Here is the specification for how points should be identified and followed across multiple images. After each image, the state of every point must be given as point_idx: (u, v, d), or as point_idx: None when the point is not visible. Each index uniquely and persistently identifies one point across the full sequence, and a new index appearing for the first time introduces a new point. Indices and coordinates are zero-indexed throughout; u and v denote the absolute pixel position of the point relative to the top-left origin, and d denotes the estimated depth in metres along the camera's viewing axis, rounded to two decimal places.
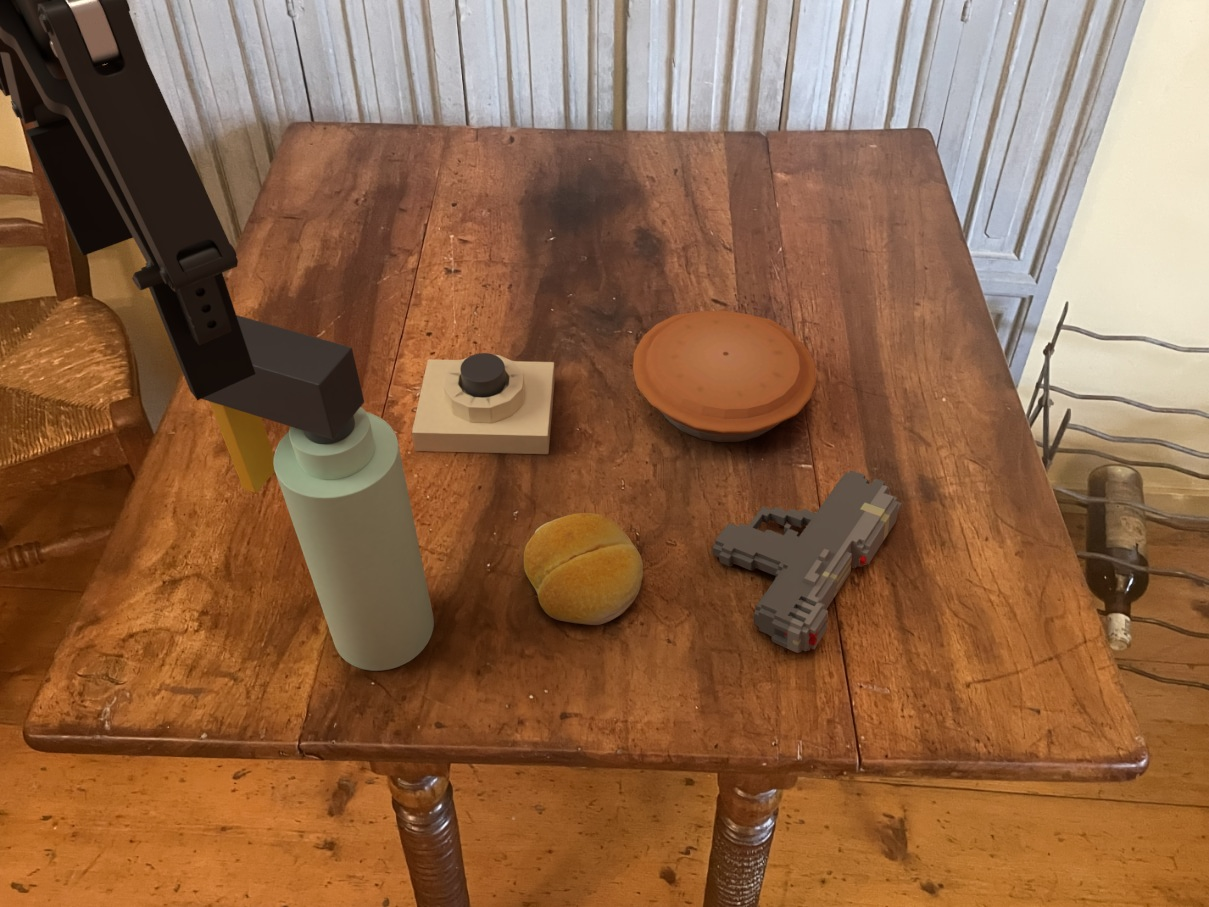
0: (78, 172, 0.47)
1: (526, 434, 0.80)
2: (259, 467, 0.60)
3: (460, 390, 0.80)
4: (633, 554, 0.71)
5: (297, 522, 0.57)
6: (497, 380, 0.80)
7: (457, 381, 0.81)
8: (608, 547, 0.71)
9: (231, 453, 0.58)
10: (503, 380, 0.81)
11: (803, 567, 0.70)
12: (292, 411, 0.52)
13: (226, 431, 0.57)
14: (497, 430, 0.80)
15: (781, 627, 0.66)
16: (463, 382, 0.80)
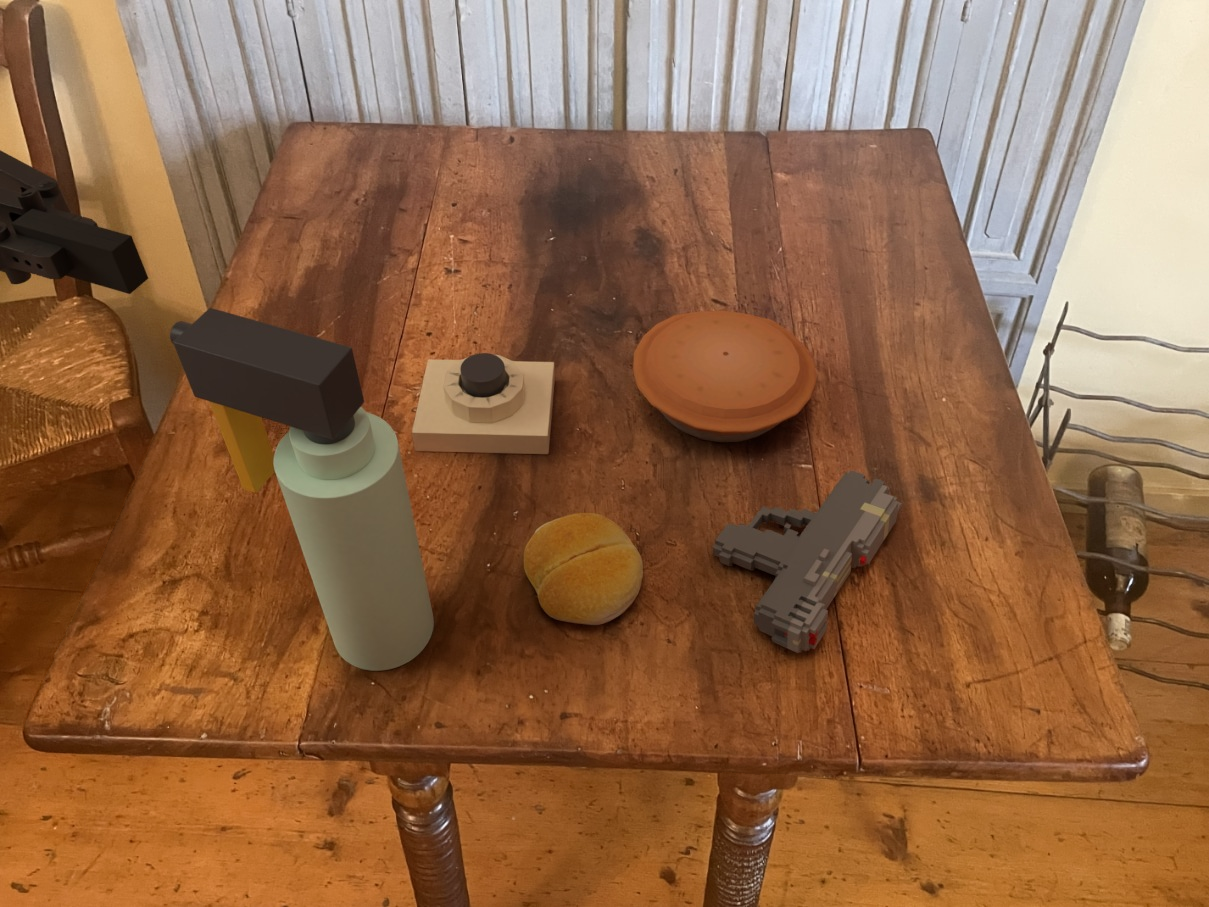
0: None
1: (526, 434, 0.80)
2: (259, 467, 0.60)
3: (460, 390, 0.80)
4: (633, 554, 0.71)
5: (297, 522, 0.57)
6: (497, 380, 0.80)
7: (457, 381, 0.81)
8: (608, 547, 0.71)
9: (231, 453, 0.58)
10: (503, 380, 0.81)
11: (803, 567, 0.70)
12: (292, 411, 0.52)
13: (226, 431, 0.57)
14: (497, 430, 0.80)
15: (781, 627, 0.66)
16: (463, 382, 0.80)
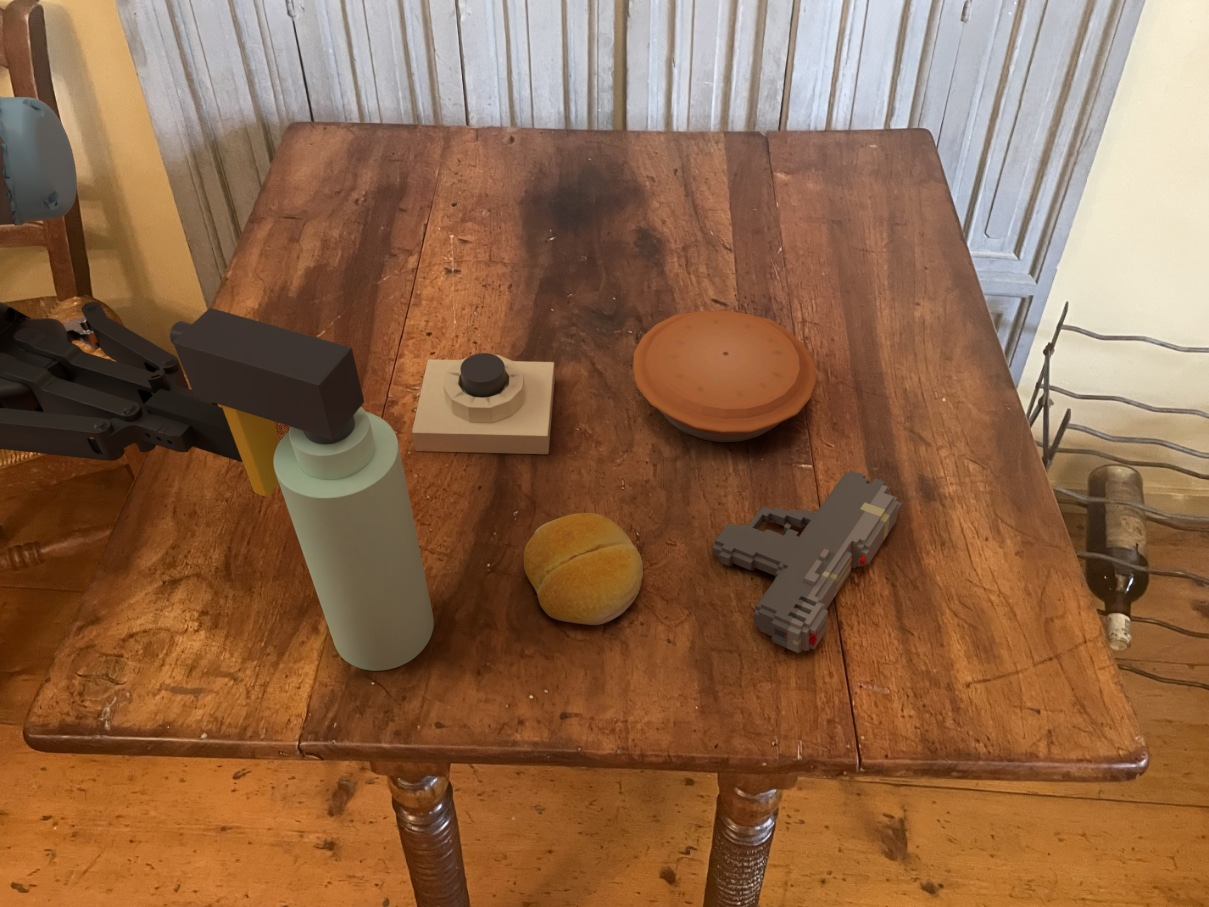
0: None
1: (526, 434, 0.80)
2: (270, 471, 0.60)
3: (460, 390, 0.80)
4: (633, 554, 0.71)
5: (297, 522, 0.57)
6: (497, 380, 0.80)
7: (457, 381, 0.81)
8: (608, 547, 0.71)
9: (243, 457, 0.58)
10: (503, 380, 0.81)
11: (803, 567, 0.70)
12: (292, 411, 0.52)
13: (238, 435, 0.57)
14: (497, 430, 0.80)
15: (781, 627, 0.66)
16: (463, 382, 0.80)
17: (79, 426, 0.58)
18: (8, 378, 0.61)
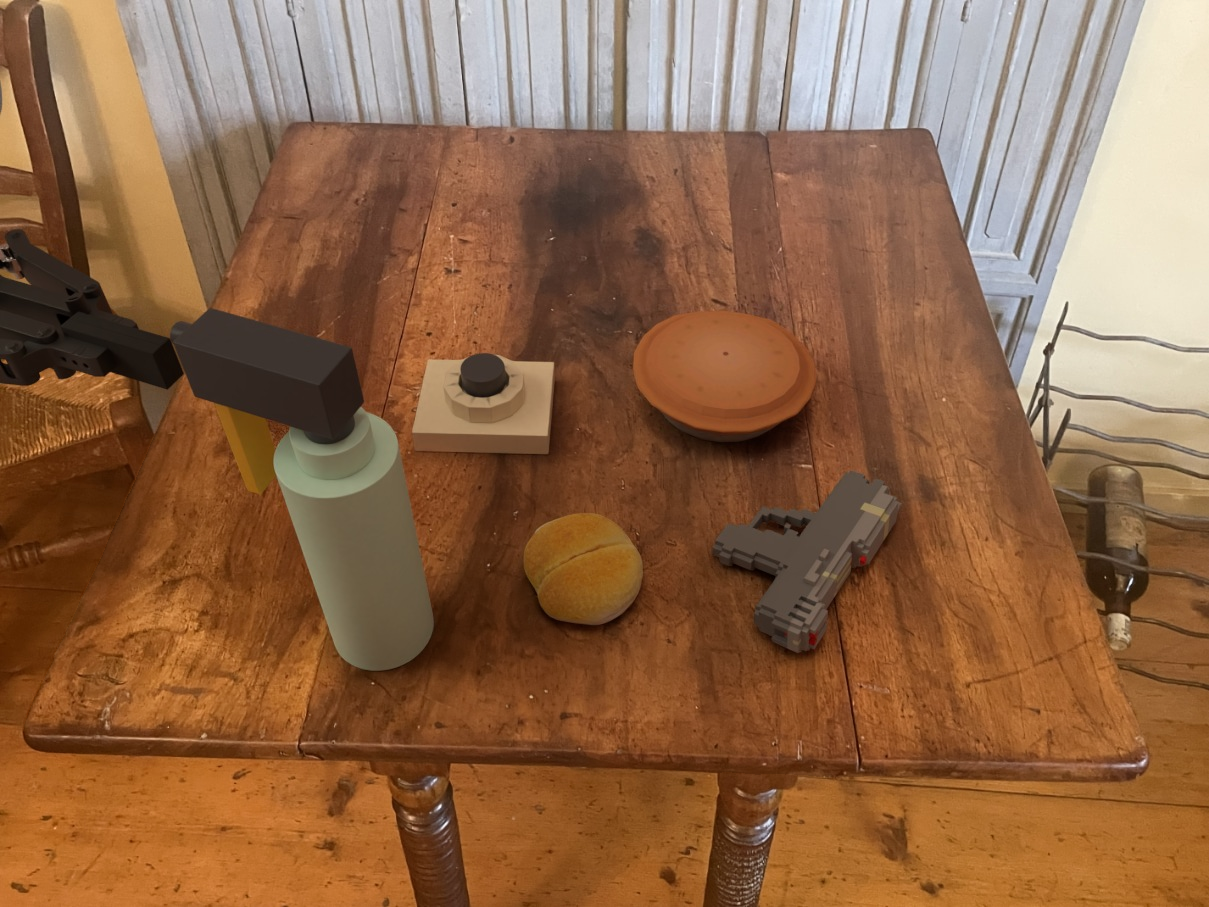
0: None
1: (526, 434, 0.80)
2: (263, 469, 0.60)
3: (460, 390, 0.80)
4: (633, 554, 0.71)
5: (297, 522, 0.57)
6: (497, 380, 0.80)
7: (457, 381, 0.81)
8: (608, 547, 0.71)
9: (235, 455, 0.58)
10: (503, 380, 0.81)
11: (803, 567, 0.70)
12: (292, 411, 0.52)
13: (230, 432, 0.57)
14: (497, 430, 0.80)
15: (781, 627, 0.66)
16: (463, 382, 0.80)
17: None
18: None
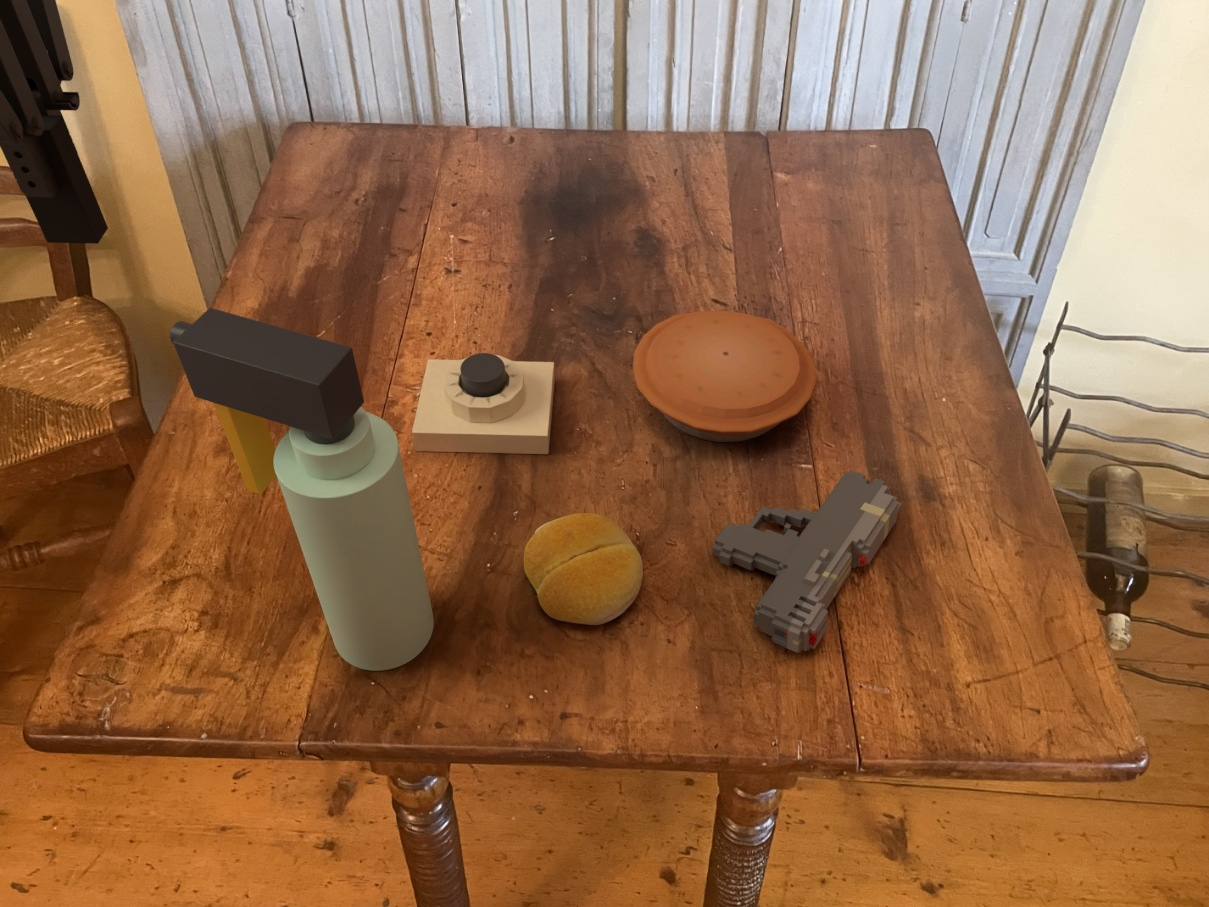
0: None
1: (526, 434, 0.80)
2: (263, 469, 0.60)
3: (460, 390, 0.80)
4: (633, 554, 0.71)
5: (297, 522, 0.57)
6: (497, 380, 0.80)
7: (457, 381, 0.81)
8: (608, 547, 0.71)
9: (235, 455, 0.58)
10: (503, 380, 0.81)
11: (803, 567, 0.70)
12: (292, 411, 0.52)
13: (230, 432, 0.57)
14: (497, 430, 0.80)
15: (781, 627, 0.66)
16: (463, 382, 0.80)
17: None
18: None
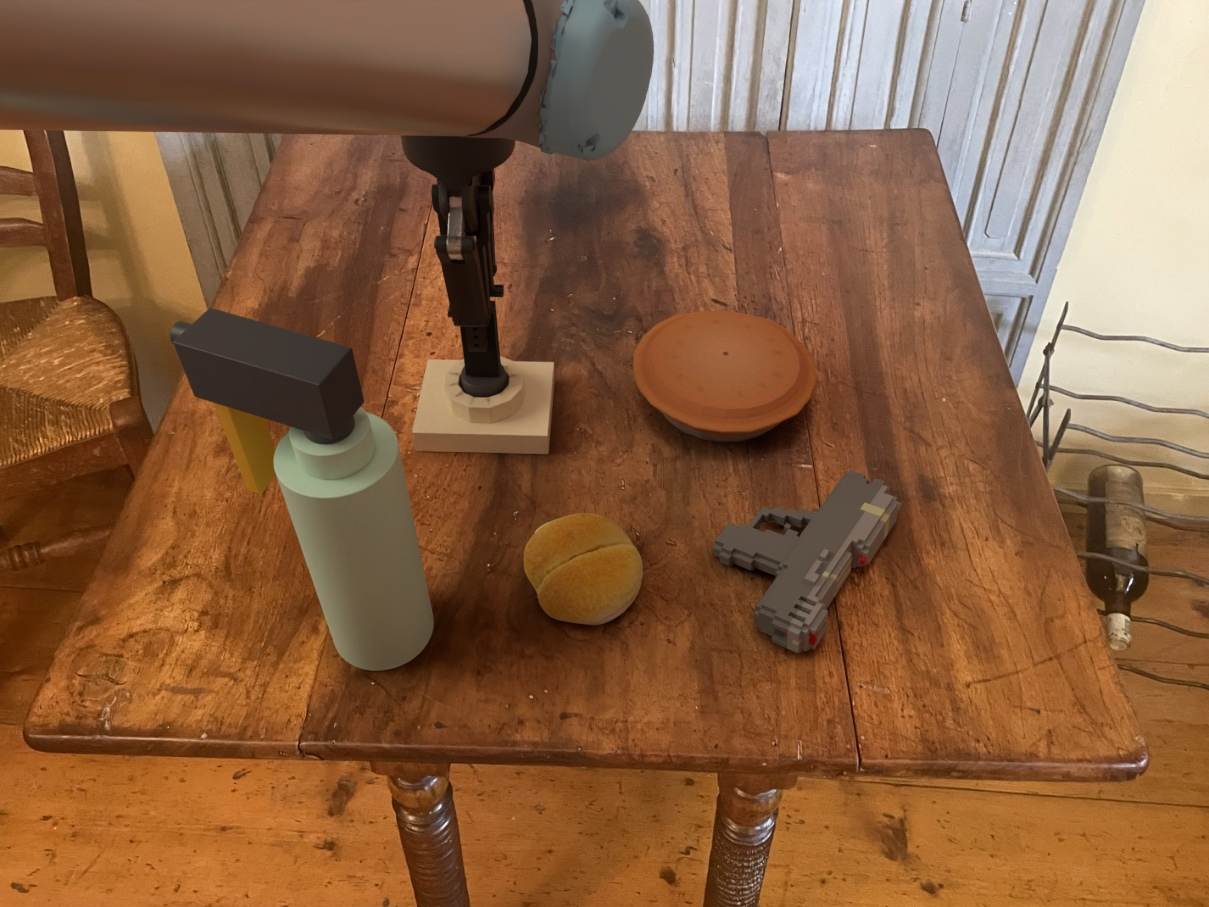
0: None
1: (526, 434, 0.80)
2: (263, 469, 0.60)
3: (460, 390, 0.80)
4: (633, 554, 0.71)
5: (297, 522, 0.57)
6: (497, 385, 0.80)
7: (457, 381, 0.81)
8: (608, 547, 0.71)
9: (235, 455, 0.58)
10: (503, 385, 0.81)
11: (803, 567, 0.70)
12: (292, 411, 0.52)
13: (230, 432, 0.57)
14: (497, 430, 0.80)
15: (781, 627, 0.66)
16: (464, 387, 0.81)
17: None
18: None
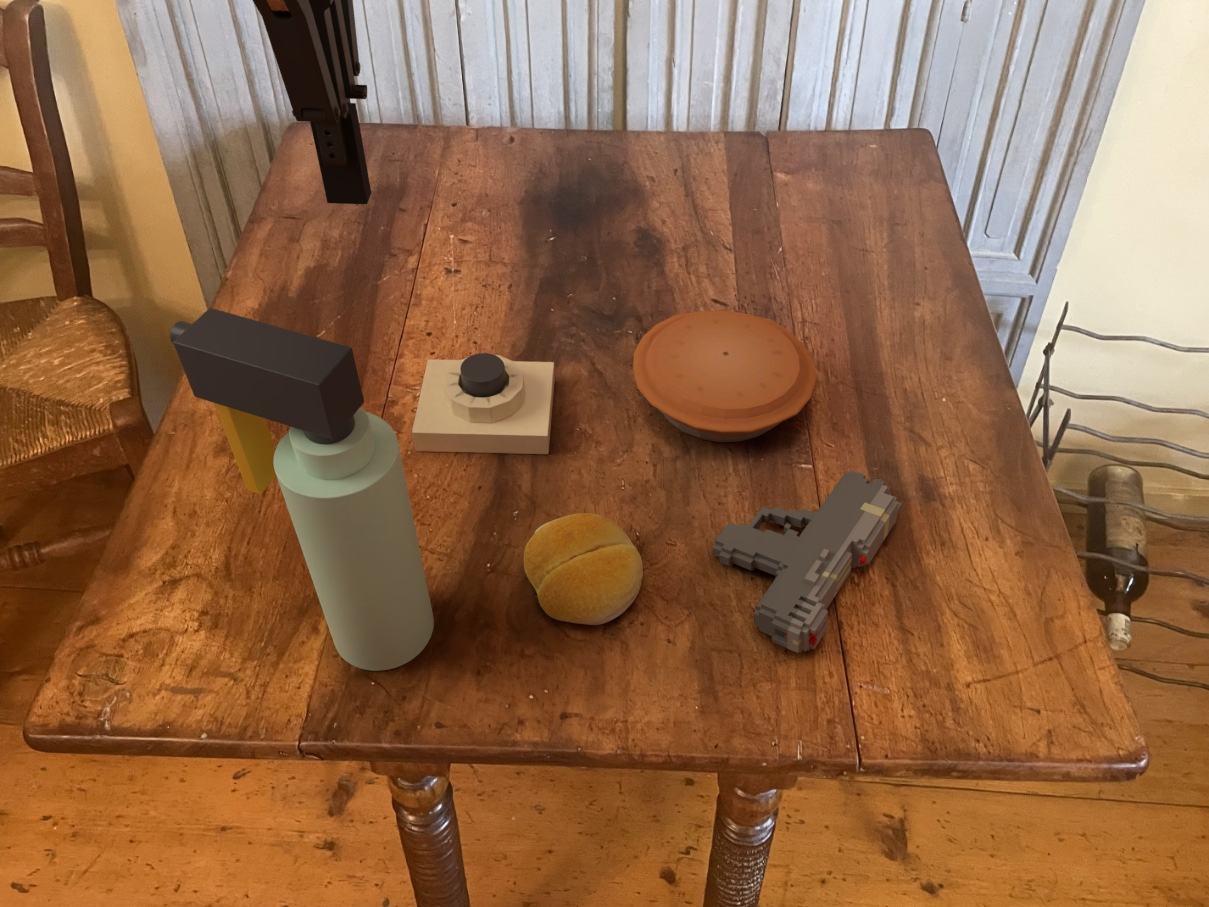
0: None
1: (526, 434, 0.80)
2: (263, 469, 0.60)
3: (460, 390, 0.80)
4: (633, 554, 0.71)
5: (297, 522, 0.57)
6: (497, 380, 0.80)
7: (457, 381, 0.81)
8: (608, 547, 0.71)
9: (235, 455, 0.58)
10: (503, 380, 0.81)
11: (803, 567, 0.70)
12: (292, 411, 0.52)
13: (230, 432, 0.57)
14: (497, 430, 0.80)
15: (781, 627, 0.66)
16: (463, 382, 0.80)
17: None
18: None
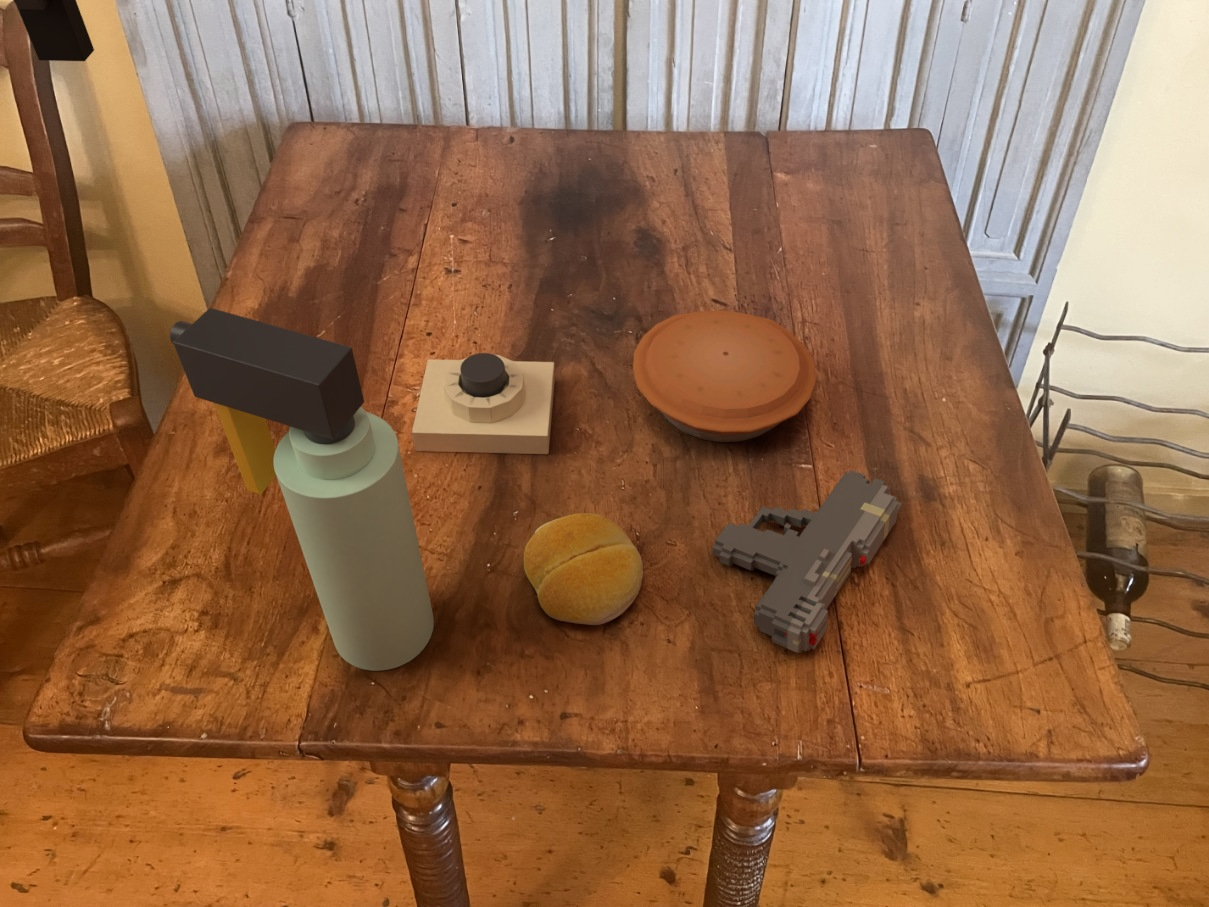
0: None
1: (526, 434, 0.80)
2: (263, 469, 0.60)
3: (460, 390, 0.80)
4: (633, 554, 0.71)
5: (297, 522, 0.57)
6: (497, 380, 0.80)
7: (457, 381, 0.81)
8: (608, 547, 0.71)
9: (235, 455, 0.58)
10: (503, 380, 0.81)
11: (803, 567, 0.70)
12: (292, 411, 0.52)
13: (230, 432, 0.57)
14: (497, 430, 0.80)
15: (781, 627, 0.66)
16: (463, 382, 0.80)
17: None
18: None
